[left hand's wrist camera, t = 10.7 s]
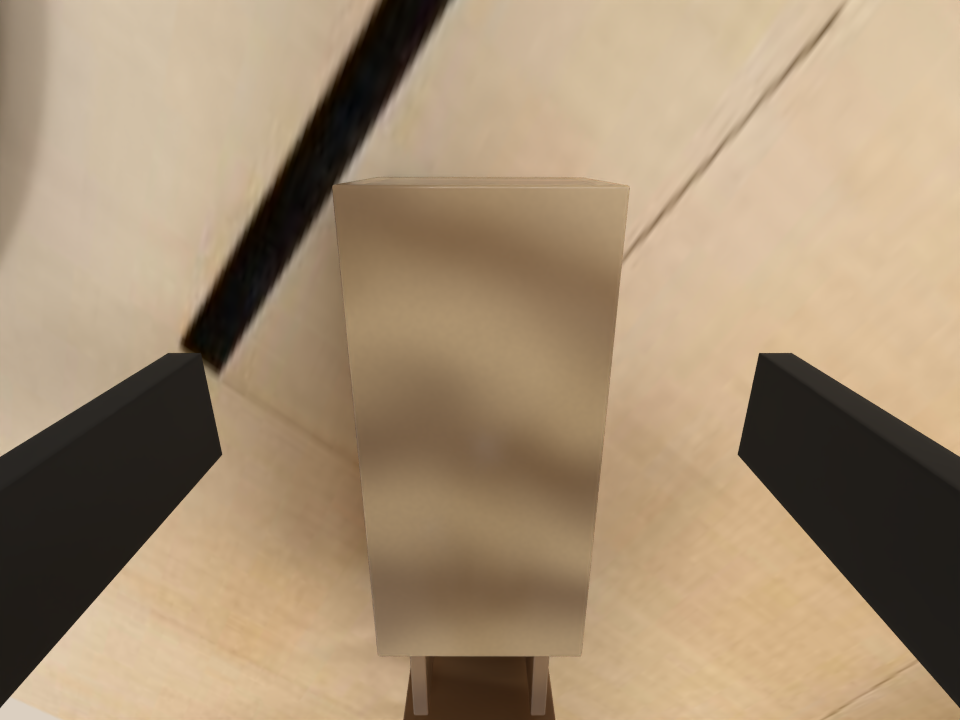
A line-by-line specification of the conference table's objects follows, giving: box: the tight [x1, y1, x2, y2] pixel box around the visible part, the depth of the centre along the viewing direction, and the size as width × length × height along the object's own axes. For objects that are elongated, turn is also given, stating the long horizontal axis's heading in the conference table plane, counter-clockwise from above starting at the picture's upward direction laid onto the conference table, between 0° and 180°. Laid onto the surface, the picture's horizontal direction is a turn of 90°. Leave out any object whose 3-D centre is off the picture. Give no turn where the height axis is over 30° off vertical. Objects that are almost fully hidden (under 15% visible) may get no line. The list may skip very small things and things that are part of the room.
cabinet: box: [332, 177, 630, 656], centre depth 24 cm, size 21×10×8 cm, turn 0°
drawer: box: [403, 656, 555, 720], centre depth 29 cm, size 26×9×6 cm, turn 0°
